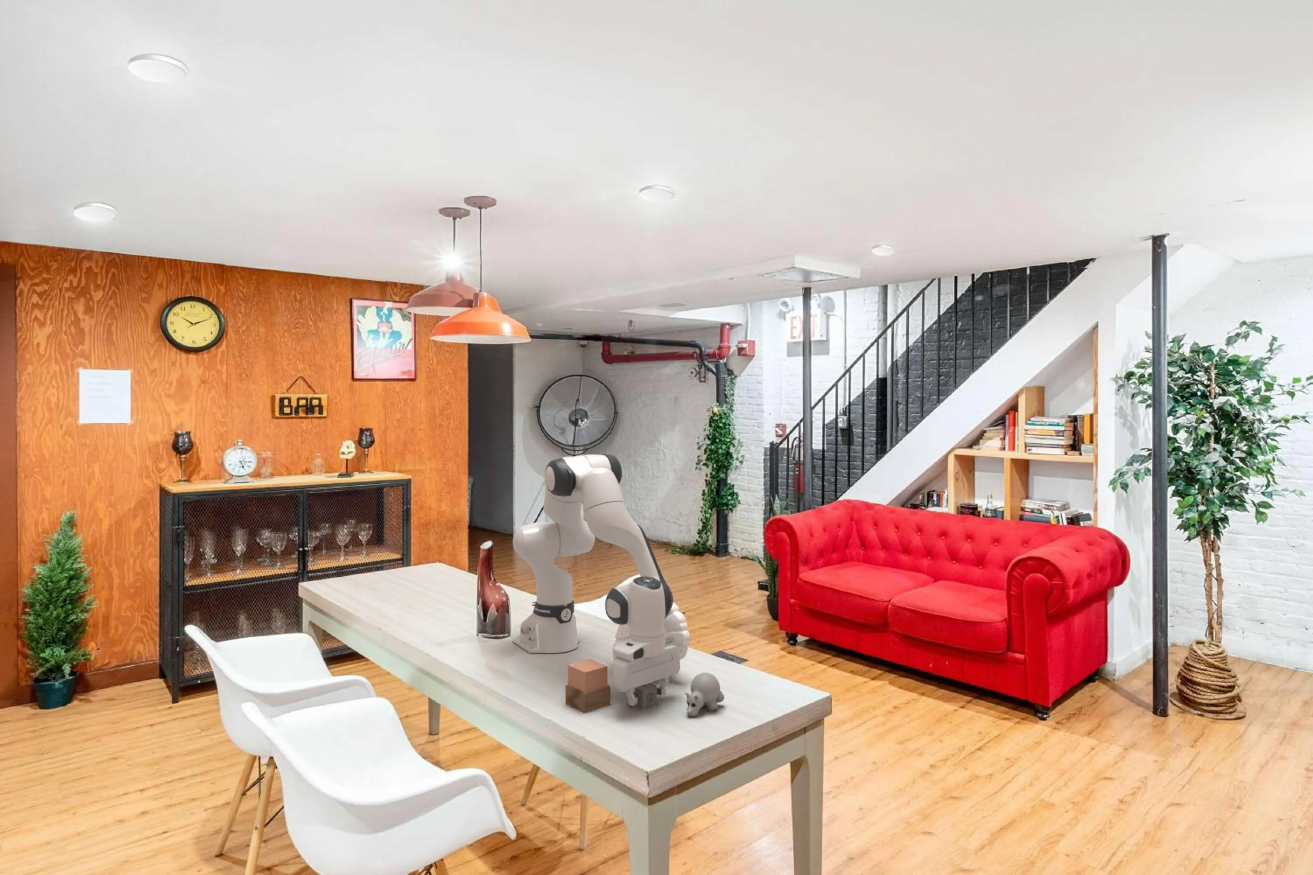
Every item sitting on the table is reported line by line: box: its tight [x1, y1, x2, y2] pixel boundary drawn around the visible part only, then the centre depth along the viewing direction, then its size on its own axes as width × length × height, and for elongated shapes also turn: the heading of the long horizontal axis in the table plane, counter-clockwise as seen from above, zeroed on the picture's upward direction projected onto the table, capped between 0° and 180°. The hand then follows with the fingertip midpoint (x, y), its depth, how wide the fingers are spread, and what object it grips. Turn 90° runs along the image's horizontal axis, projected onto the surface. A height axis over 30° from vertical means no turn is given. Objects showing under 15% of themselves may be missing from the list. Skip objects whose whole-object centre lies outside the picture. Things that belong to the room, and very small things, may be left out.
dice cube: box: [627, 682, 658, 711], centre depth 190 cm, size 5×5×5 cm
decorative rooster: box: [612, 601, 691, 660], centre depth 211 cm, size 25×16×25 cm, turn 35°
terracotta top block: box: [567, 659, 609, 693], centre depth 190 cm, size 7×7×5 cm
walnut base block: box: [564, 684, 612, 714], centre depth 190 cm, size 8×8×5 cm
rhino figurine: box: [684, 672, 725, 718], centre depth 186 cm, size 7×12×8 cm, turn 140°
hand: (647, 699), depth 189 cm, fingers open, 8 cm apart
